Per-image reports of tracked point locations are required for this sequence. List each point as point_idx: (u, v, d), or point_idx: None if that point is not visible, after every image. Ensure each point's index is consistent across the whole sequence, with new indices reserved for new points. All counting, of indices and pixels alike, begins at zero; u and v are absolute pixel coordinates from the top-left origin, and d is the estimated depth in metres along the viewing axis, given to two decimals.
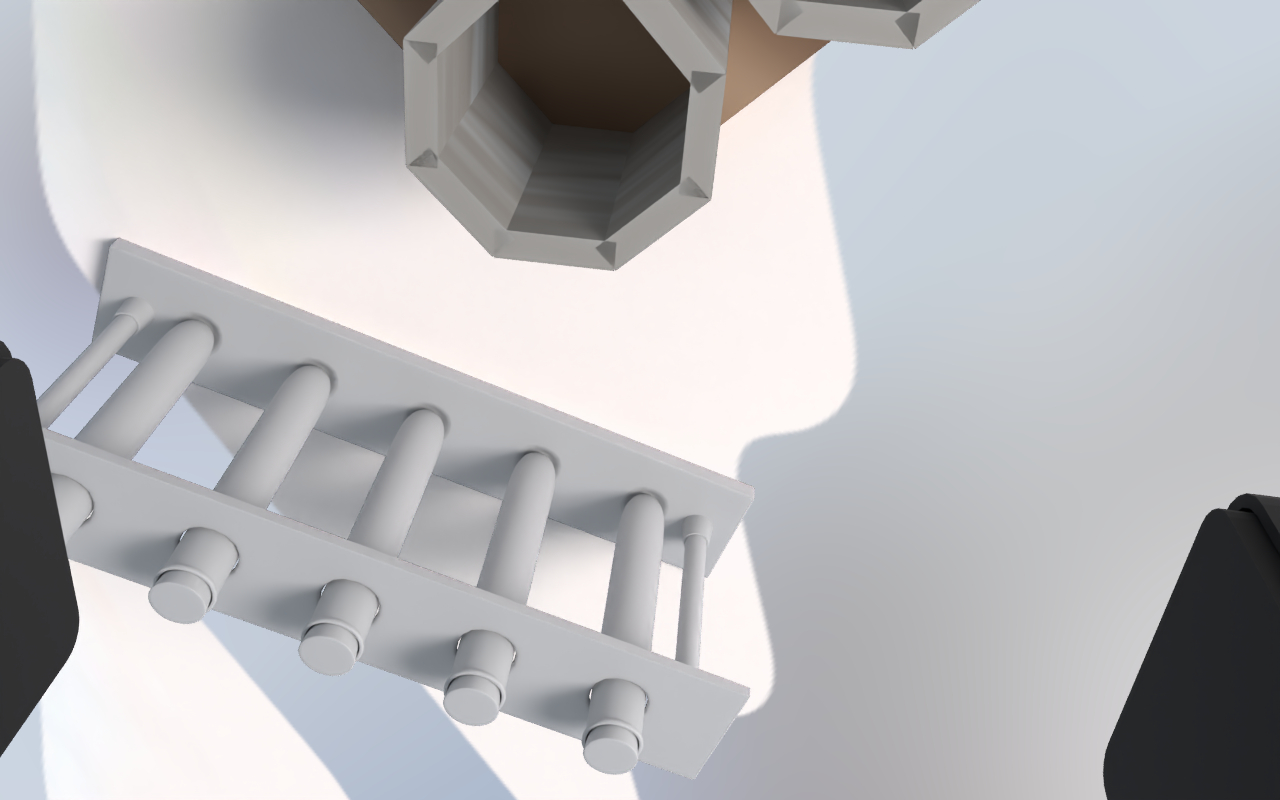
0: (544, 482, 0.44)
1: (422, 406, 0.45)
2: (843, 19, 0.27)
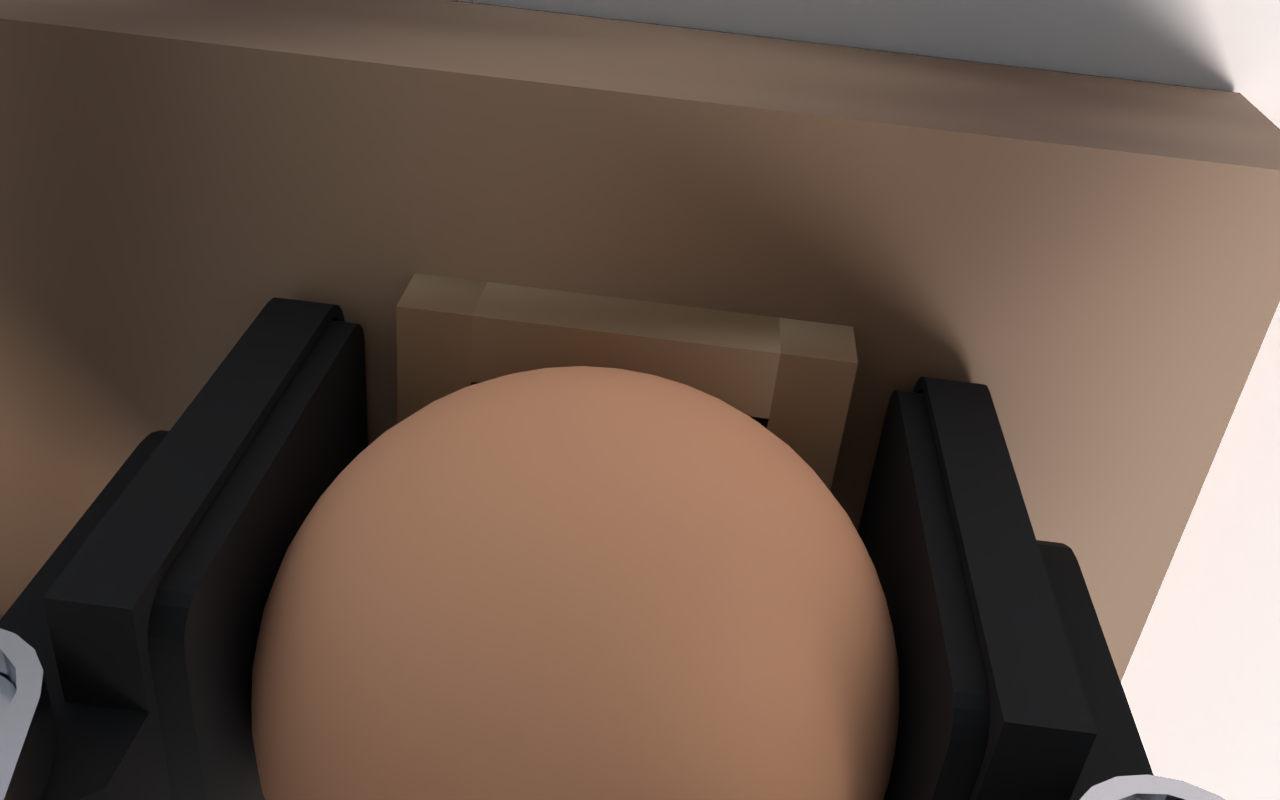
0: None
1: None
2: None
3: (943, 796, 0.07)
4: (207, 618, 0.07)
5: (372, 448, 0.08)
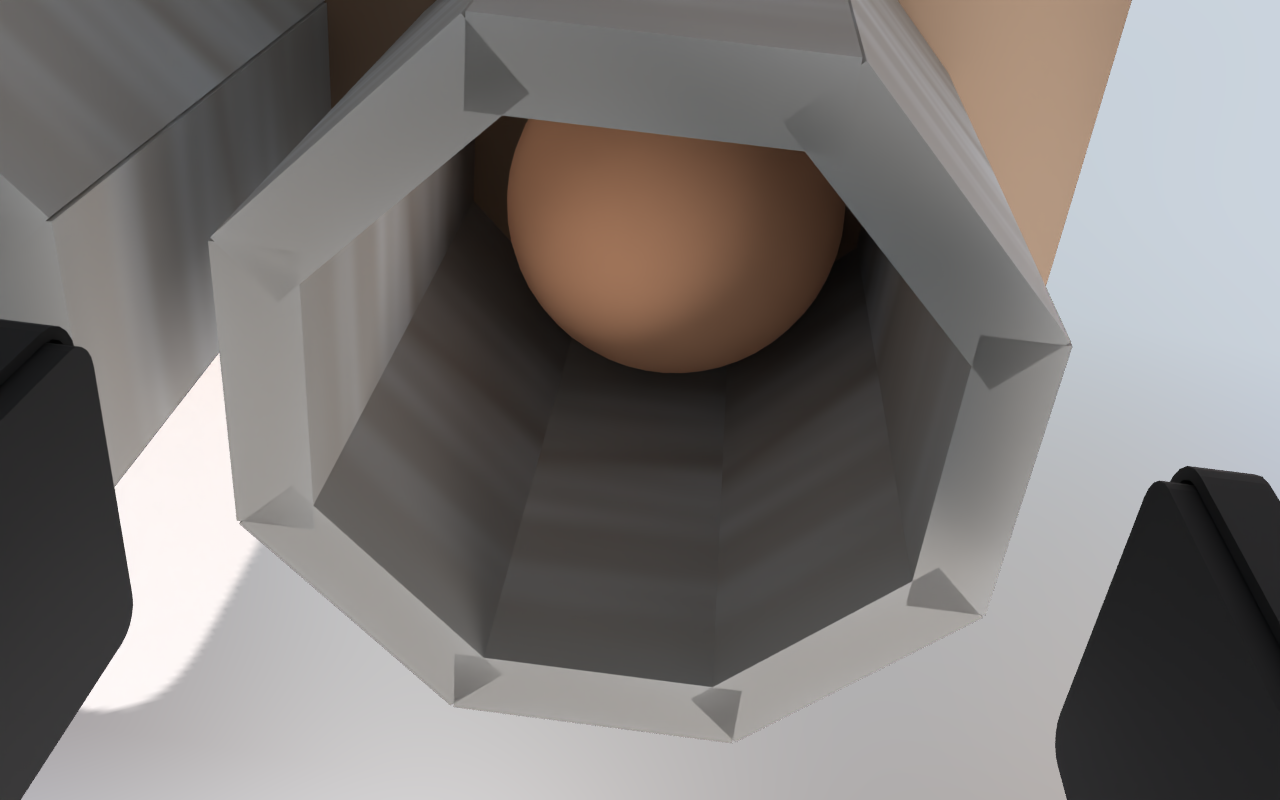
0: None
1: None
2: (373, 590, 0.13)
3: None
4: None
5: None
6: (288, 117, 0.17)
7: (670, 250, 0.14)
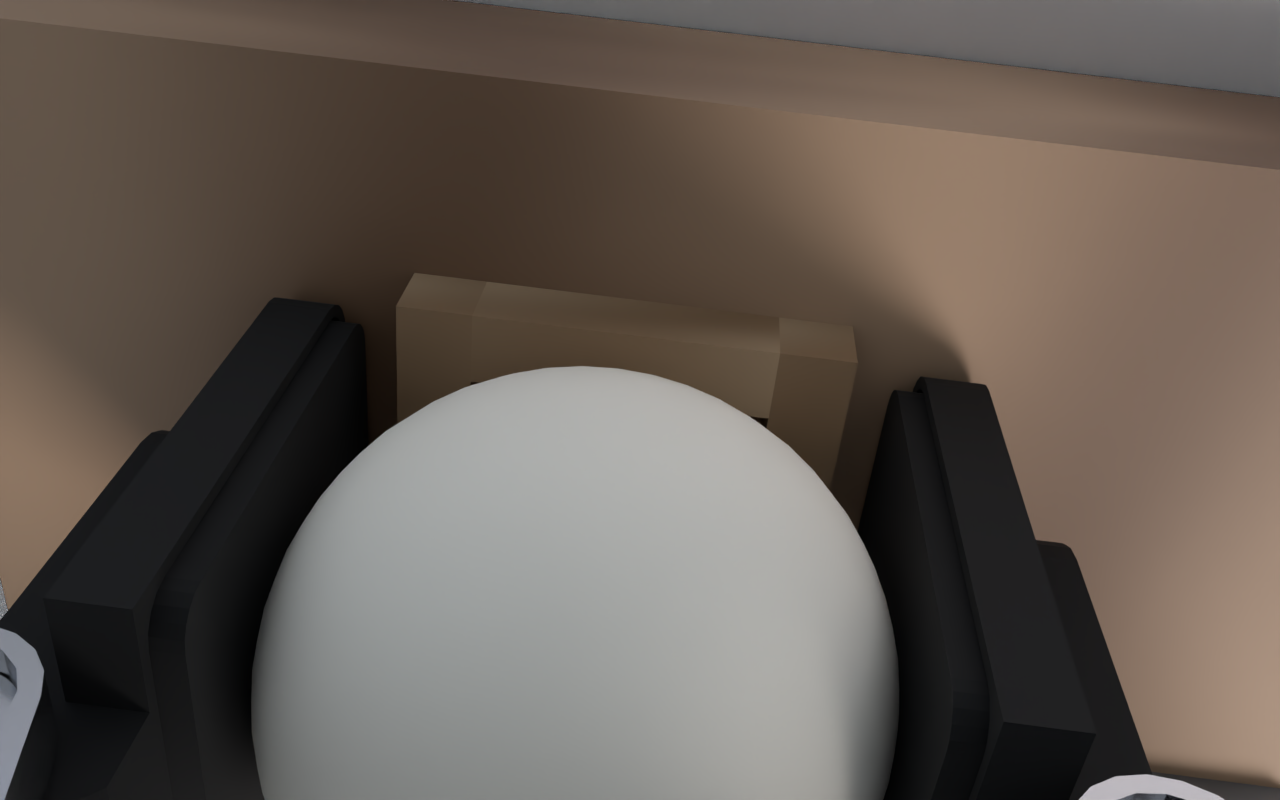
0: None
1: None
2: None
3: (942, 796, 0.07)
4: (208, 618, 0.07)
5: None
6: None
7: None
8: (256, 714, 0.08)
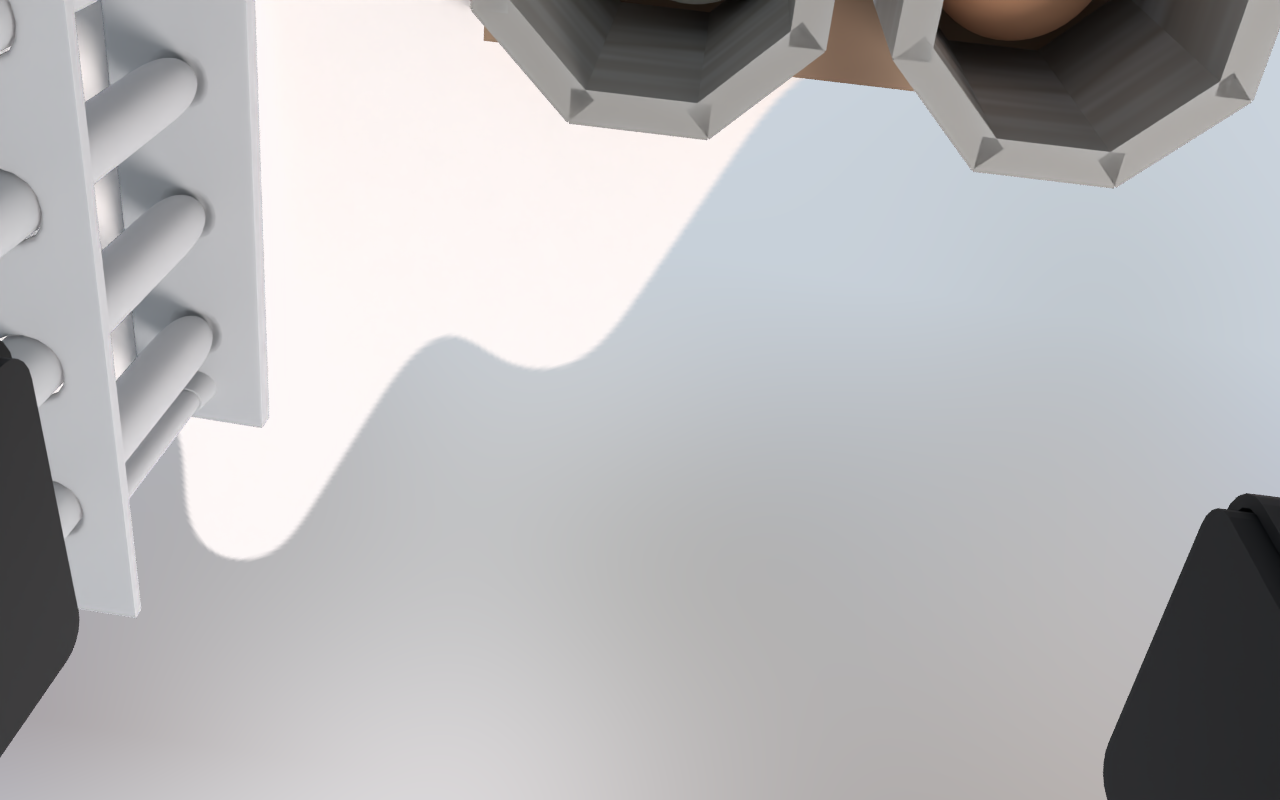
0: (188, 249, 0.38)
1: (195, 66, 0.37)
2: (949, 98, 0.26)
3: None
4: None
5: None
6: None
7: None
8: None
